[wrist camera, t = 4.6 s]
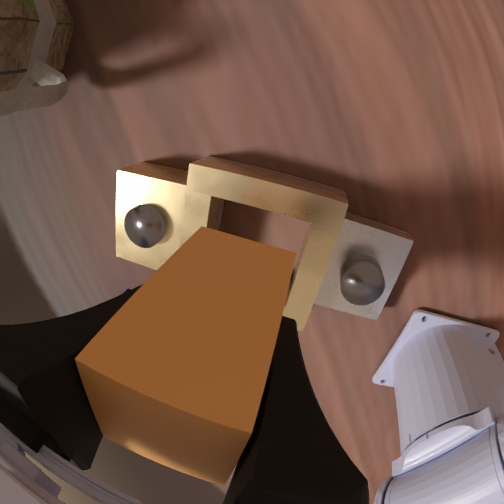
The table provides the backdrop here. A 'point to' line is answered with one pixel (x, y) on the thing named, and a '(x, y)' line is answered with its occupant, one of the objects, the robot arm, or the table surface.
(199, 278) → the orange rectangular peg
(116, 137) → the table surface
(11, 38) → the mug
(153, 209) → the square frame connector
